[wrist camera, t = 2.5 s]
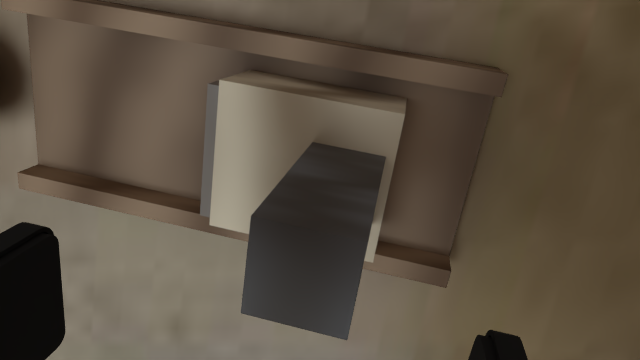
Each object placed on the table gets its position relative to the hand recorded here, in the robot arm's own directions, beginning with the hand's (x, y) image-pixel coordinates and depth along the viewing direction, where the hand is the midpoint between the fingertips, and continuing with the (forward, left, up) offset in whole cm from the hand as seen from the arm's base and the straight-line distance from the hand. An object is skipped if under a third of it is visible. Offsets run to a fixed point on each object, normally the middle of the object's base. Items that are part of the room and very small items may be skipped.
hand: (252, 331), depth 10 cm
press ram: (+2, 0, -15) cm, 15 cm away
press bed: (+6, 0, -16) cm, 18 cm away
